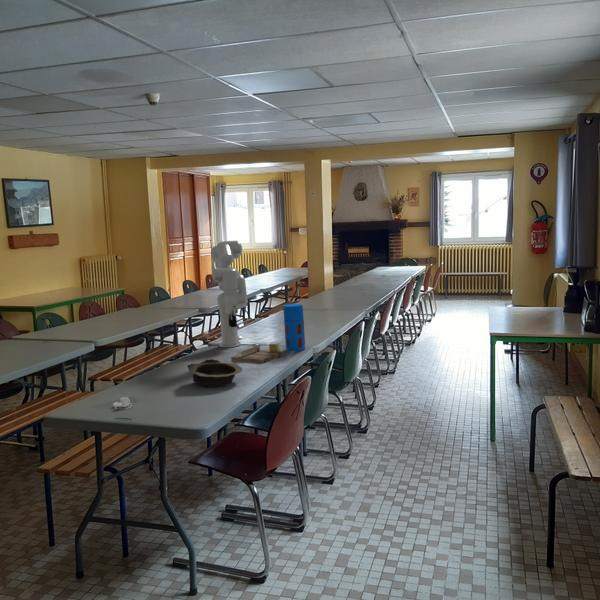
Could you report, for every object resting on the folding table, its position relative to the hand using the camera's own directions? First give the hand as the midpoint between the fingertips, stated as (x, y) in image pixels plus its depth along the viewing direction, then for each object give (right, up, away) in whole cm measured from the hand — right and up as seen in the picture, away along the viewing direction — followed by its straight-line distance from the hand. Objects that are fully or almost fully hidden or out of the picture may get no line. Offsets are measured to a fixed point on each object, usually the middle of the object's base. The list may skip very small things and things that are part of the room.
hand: (233, 326), depth 315 cm
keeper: (+22, -14, +4) cm, 26 cm away
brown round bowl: (-2, -24, -47) cm, 53 cm away
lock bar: (+8, -15, 0) cm, 17 cm away
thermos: (+33, -14, +15) cm, 39 cm away
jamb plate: (+13, -17, -1) cm, 21 cm away
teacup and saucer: (-36, -30, -73) cm, 87 cm away
